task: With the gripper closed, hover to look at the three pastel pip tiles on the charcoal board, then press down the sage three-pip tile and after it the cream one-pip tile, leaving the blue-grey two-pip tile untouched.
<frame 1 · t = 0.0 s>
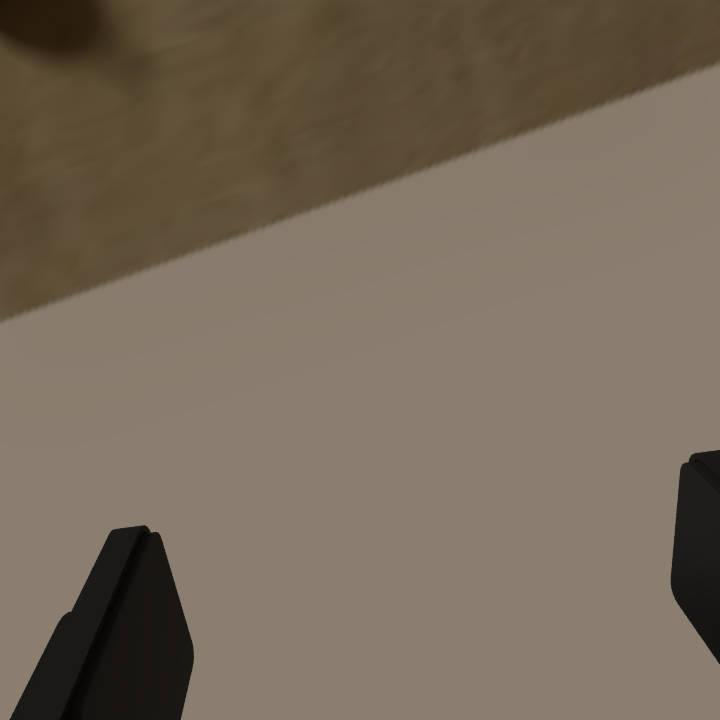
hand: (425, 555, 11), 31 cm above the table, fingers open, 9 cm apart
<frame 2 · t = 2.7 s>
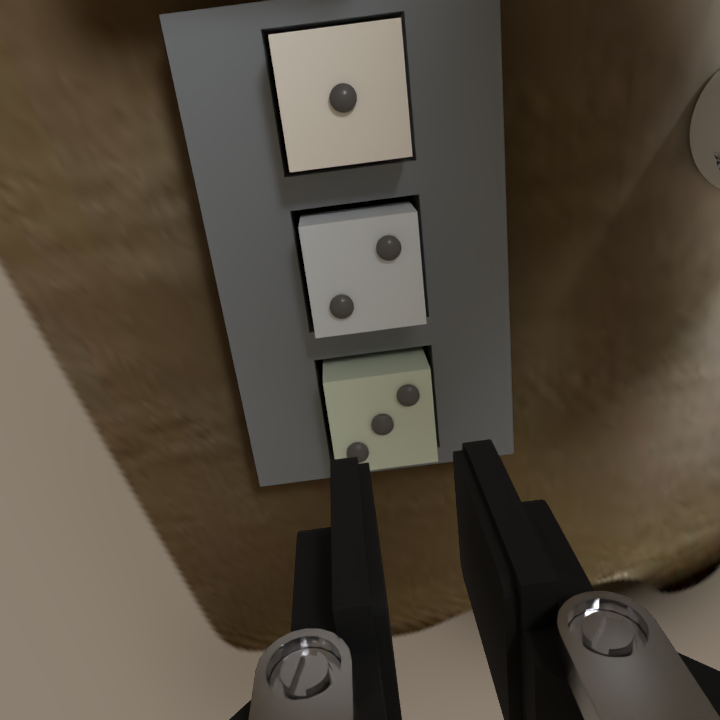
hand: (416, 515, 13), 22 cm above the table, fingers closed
tile three: (380, 410, 33), point 3 cm above the table, slide at 0.0 cm
tile two: (362, 269, 30), point 3 cm above the table, slide at 0.0 cm
tile one: (342, 97, 27), point 3 cm above the table, slide at 0.0 cm
board: (359, 253, 33), on the table
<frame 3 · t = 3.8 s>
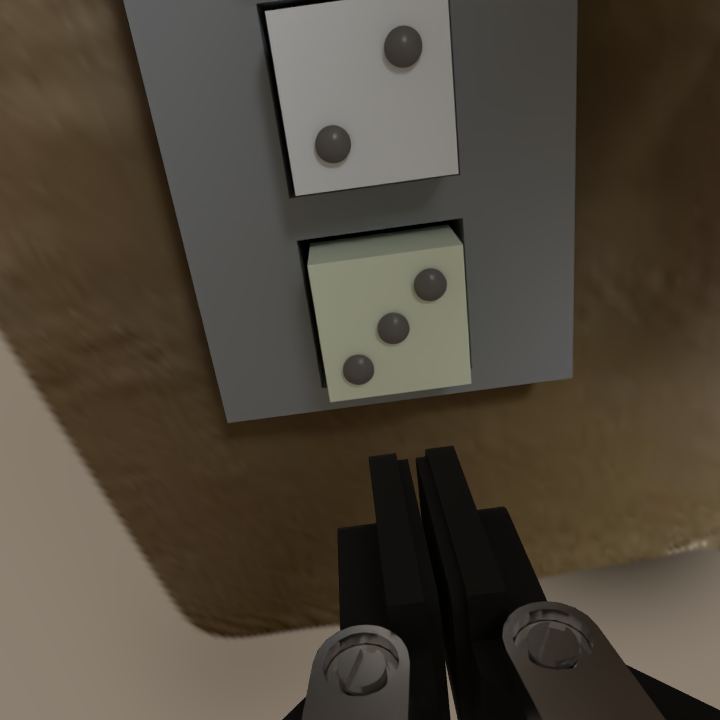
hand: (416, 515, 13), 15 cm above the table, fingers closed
tile three: (389, 313, 24), point 3 cm above the table, slide at 0.0 cm
tile two: (364, 94, 21), point 3 cm above the table, slide at 0.0 cm
board: (360, 91, 23), on the table
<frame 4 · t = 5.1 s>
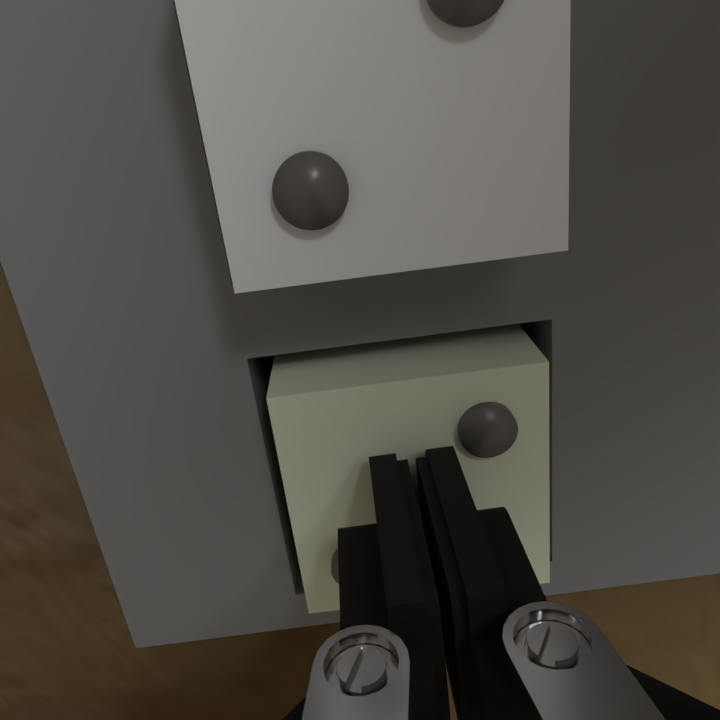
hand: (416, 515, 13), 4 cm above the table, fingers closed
tile three: (410, 460, 14), point 2 cm above the table, slide at 1.0 cm
tile two: (376, 90, 10), point 3 cm above the table, slide at 0.0 cm
board: (365, 89, 13), on the table
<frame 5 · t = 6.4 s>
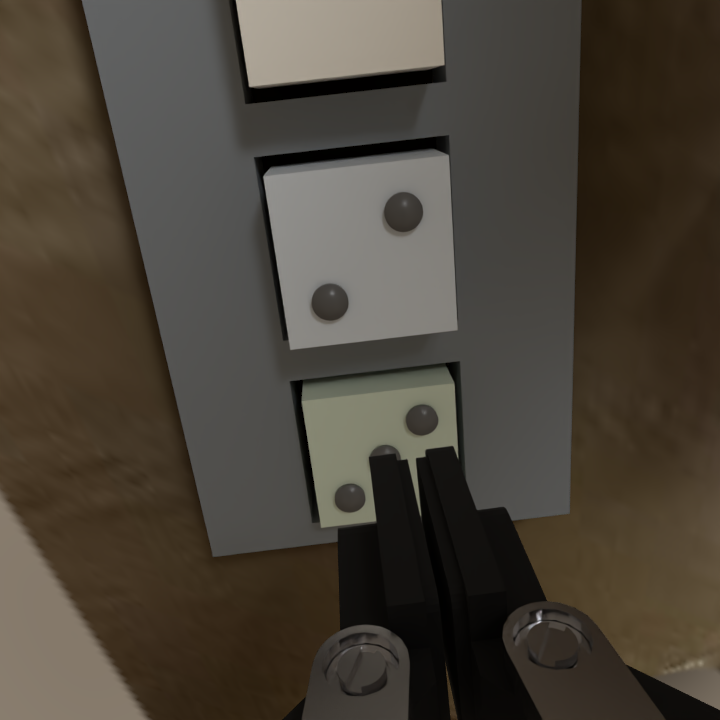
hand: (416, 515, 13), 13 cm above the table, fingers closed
tile three: (381, 439, 24), point 2 cm above the table, slide at 1.1 cm
tile two: (362, 247, 20), point 3 cm above the table, slide at 0.0 cm
board: (357, 229, 23), on the table
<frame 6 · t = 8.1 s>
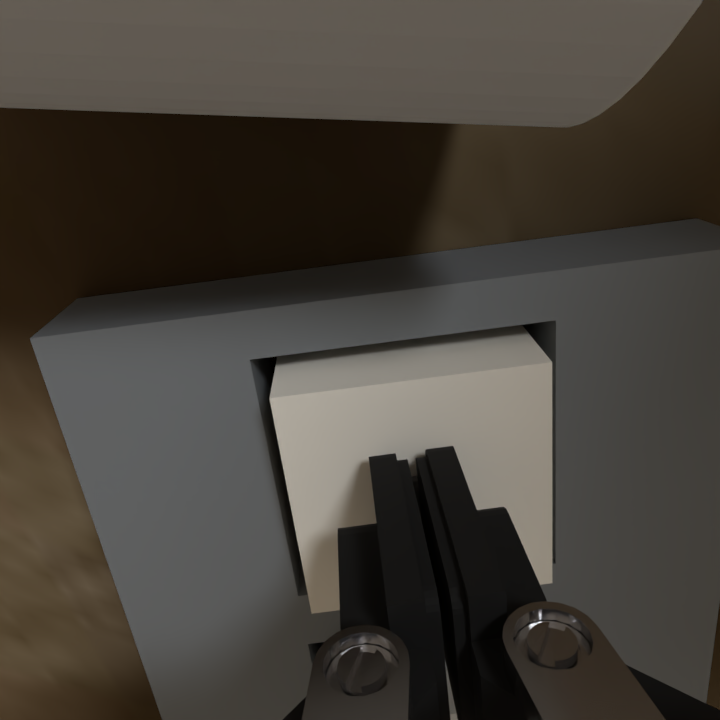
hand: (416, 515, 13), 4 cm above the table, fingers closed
tile one: (413, 460, 14), point 2 cm above the table, slide at 1.0 cm
board: (426, 638, 19), on the table
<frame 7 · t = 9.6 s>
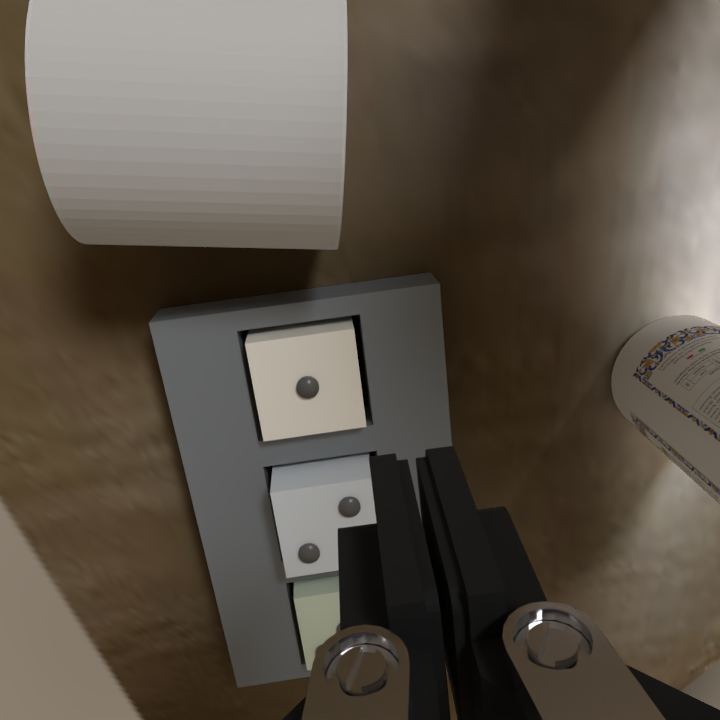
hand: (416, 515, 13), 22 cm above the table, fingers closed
tile three: (344, 611, 38), point 2 cm above the table, slide at 1.1 cm
tile two: (328, 513, 34), point 3 cm above the table, slide at 0.0 cm
tile one: (307, 376, 33), point 2 cm above the table, slide at 1.1 cm
toilet paper: (226, 120, 30), on the table
bath foam: (664, 369, 37), on the table
board: (326, 483, 37), on the table
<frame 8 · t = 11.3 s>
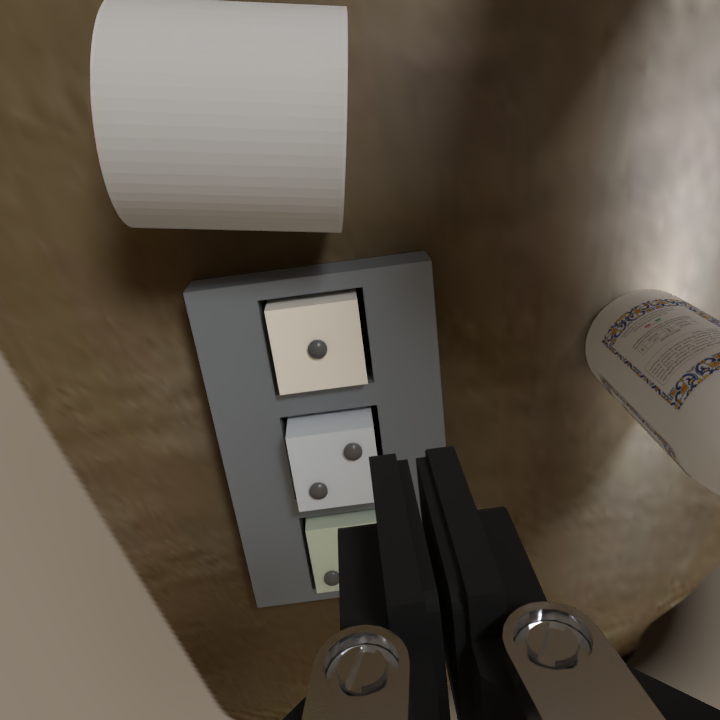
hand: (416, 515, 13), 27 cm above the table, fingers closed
tile three: (349, 544, 44), point 2 cm above the table, slide at 1.1 cm
tile two: (335, 458, 40), point 3 cm above the table, slide at 0.0 cm
tile one: (317, 339, 38), point 2 cm above the table, slide at 1.1 cm
toilet paper: (248, 118, 35), on the table
bath foam: (634, 337, 41), on the table
board: (334, 433, 43), on the table
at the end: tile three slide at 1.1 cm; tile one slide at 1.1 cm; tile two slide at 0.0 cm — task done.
